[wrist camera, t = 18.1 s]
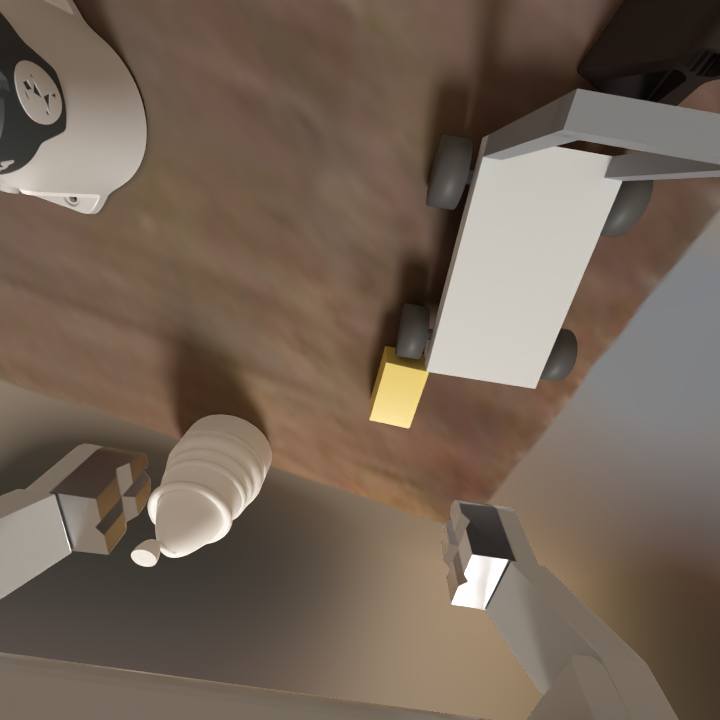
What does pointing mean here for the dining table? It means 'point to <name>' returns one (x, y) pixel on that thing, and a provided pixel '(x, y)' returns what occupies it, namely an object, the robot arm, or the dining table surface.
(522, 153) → the flatbed trolley
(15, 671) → the robot arm
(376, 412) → the tall gold block
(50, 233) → the dining table surface
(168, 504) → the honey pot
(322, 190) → the dining table surface
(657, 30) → the phone stand
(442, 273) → the dining table surface
